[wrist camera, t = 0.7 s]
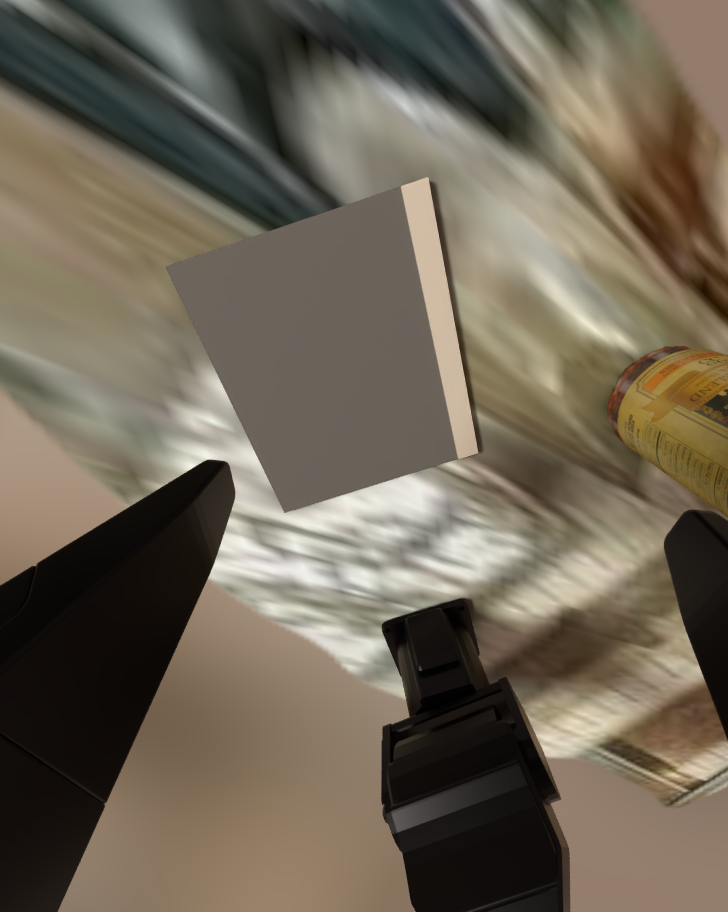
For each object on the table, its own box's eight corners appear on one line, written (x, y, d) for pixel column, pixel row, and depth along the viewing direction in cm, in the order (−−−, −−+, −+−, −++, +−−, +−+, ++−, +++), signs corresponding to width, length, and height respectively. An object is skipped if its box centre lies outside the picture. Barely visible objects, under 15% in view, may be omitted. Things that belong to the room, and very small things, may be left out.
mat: (475, 449, 25) (478, 453, 24) (284, 509, 25) (284, 513, 25) (425, 178, 18) (428, 177, 18) (167, 266, 18) (164, 267, 18)
